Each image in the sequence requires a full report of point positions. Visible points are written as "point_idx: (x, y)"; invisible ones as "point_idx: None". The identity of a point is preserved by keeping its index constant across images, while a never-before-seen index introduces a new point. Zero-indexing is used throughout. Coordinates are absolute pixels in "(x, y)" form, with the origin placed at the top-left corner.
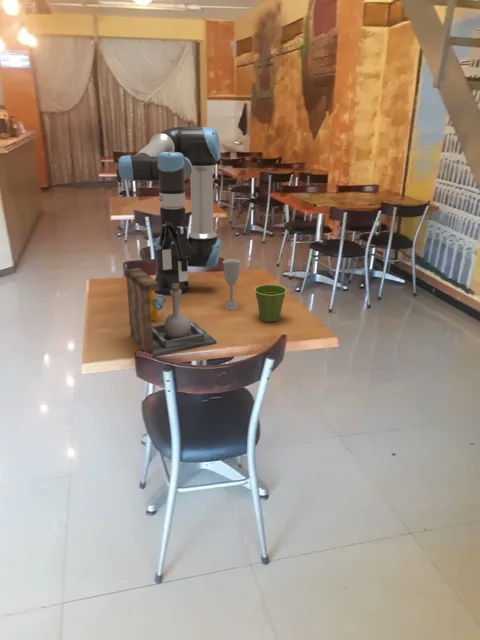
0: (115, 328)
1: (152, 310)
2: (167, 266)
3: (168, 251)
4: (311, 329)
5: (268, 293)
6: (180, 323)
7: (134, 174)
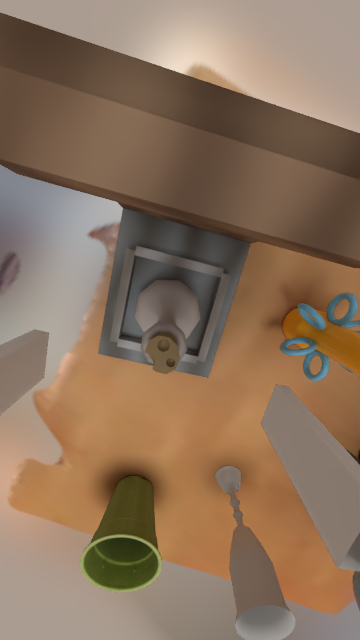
0: None
1: (297, 327)
2: (275, 414)
3: (336, 527)
4: (50, 505)
5: (149, 551)
6: (139, 308)
7: None
